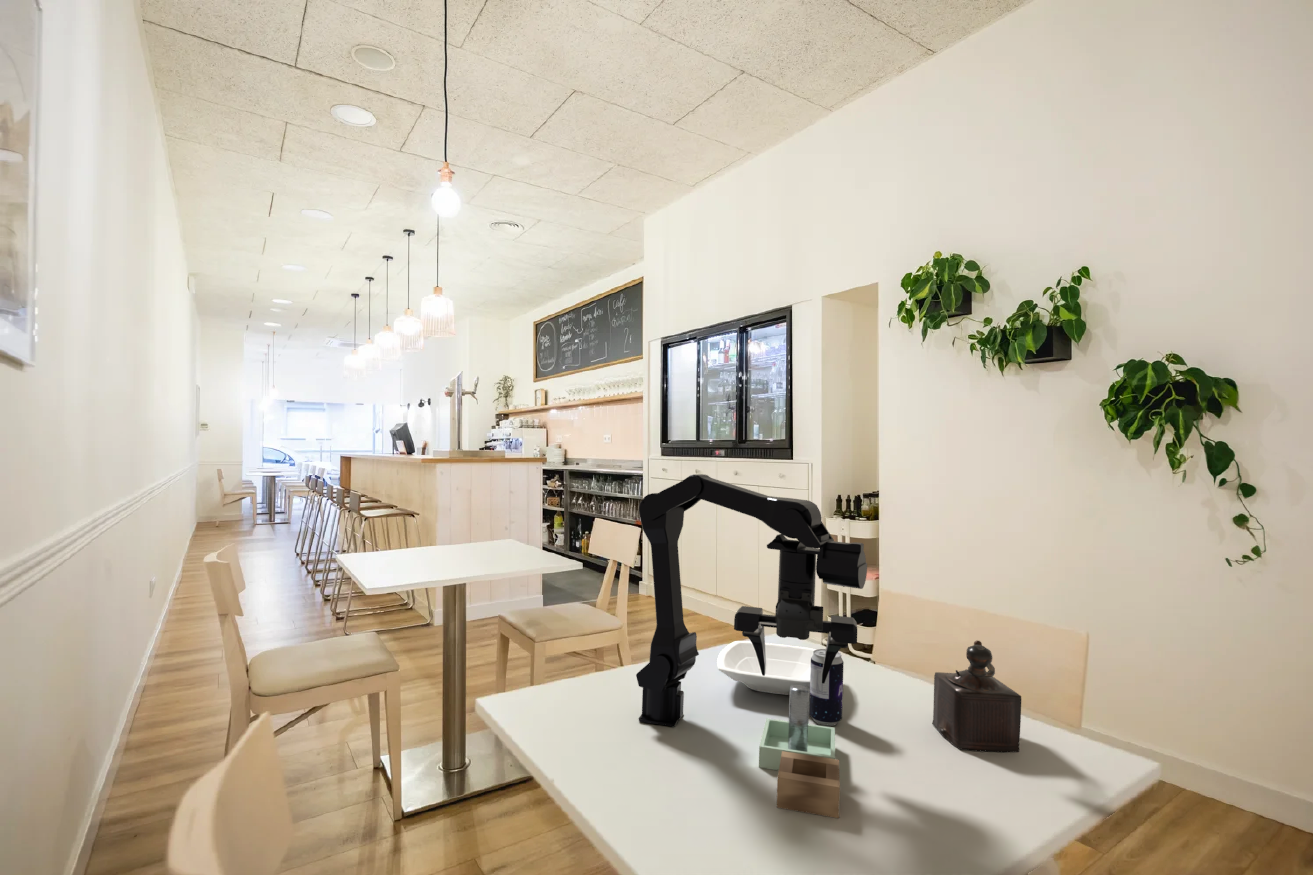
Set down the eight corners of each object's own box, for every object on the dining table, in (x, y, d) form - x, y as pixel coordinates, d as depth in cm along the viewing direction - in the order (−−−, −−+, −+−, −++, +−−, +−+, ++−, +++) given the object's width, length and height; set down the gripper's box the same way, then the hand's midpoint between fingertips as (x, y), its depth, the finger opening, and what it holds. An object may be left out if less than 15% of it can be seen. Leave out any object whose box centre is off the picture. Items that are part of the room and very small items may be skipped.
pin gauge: (787, 755, 101) (789, 690, 101) (788, 747, 104) (790, 683, 104) (807, 758, 100) (809, 693, 100) (807, 750, 103) (809, 686, 103)
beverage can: (843, 729, 113) (845, 659, 113) (809, 725, 114) (811, 656, 114) (840, 716, 118) (842, 649, 119) (808, 712, 120) (810, 646, 120)
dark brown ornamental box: (927, 723, 116) (930, 622, 117) (989, 726, 116) (991, 624, 117) (969, 765, 101) (972, 648, 101) (1040, 768, 101) (1043, 651, 101)
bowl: (833, 716, 118) (834, 685, 118) (707, 698, 125) (708, 668, 125) (835, 677, 140) (836, 650, 140) (728, 663, 146) (728, 638, 146)
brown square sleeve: (776, 807, 87) (777, 777, 87) (781, 778, 95) (781, 751, 95) (838, 818, 85) (839, 787, 85) (838, 788, 92) (839, 759, 93)
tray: (758, 767, 98) (759, 746, 98) (765, 736, 109) (766, 718, 109) (834, 779, 95) (835, 757, 95) (834, 746, 106) (834, 727, 106)
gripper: (730, 583, 98) (726, 687, 98) (860, 596, 93) (856, 705, 93) (740, 571, 109) (737, 665, 108) (857, 581, 104) (854, 680, 104)
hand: (793, 678), depth 103 cm, fingers open, 9 cm apart
